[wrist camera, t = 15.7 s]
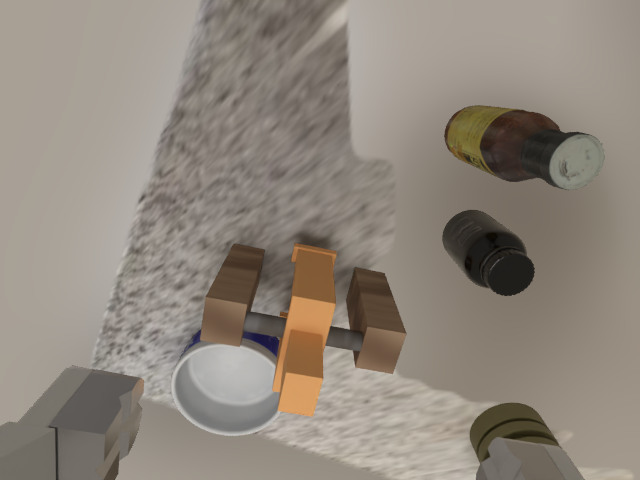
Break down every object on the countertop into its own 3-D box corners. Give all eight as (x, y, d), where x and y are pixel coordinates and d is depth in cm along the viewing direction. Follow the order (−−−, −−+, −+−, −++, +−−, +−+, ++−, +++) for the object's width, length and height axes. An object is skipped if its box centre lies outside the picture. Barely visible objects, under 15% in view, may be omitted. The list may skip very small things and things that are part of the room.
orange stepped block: (294, 242, 47) (282, 330, 31) (336, 251, 48) (346, 342, 31) (277, 324, 51) (258, 442, 35) (316, 331, 52) (315, 451, 35)
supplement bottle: (445, 264, 53) (480, 312, 42) (436, 216, 51) (471, 253, 39) (498, 251, 52) (547, 295, 41) (491, 202, 50) (542, 235, 39)
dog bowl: (252, 420, 62) (245, 453, 57) (164, 372, 59) (148, 402, 53) (310, 354, 58) (310, 383, 52) (219, 298, 55) (208, 322, 49)
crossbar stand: (233, 243, 52) (205, 296, 39) (384, 273, 53) (406, 333, 40) (228, 278, 53) (199, 340, 40) (374, 305, 55) (392, 373, 42)
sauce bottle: (436, 155, 48) (512, 199, 29) (450, 100, 46) (541, 110, 27) (489, 163, 48) (597, 211, 30) (505, 109, 46) (633, 124, 28)
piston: (609, 498, 52) (543, 546, 55) (557, 425, 63) (505, 468, 66) (549, 460, 49) (484, 512, 52) (506, 390, 61) (454, 437, 64)
